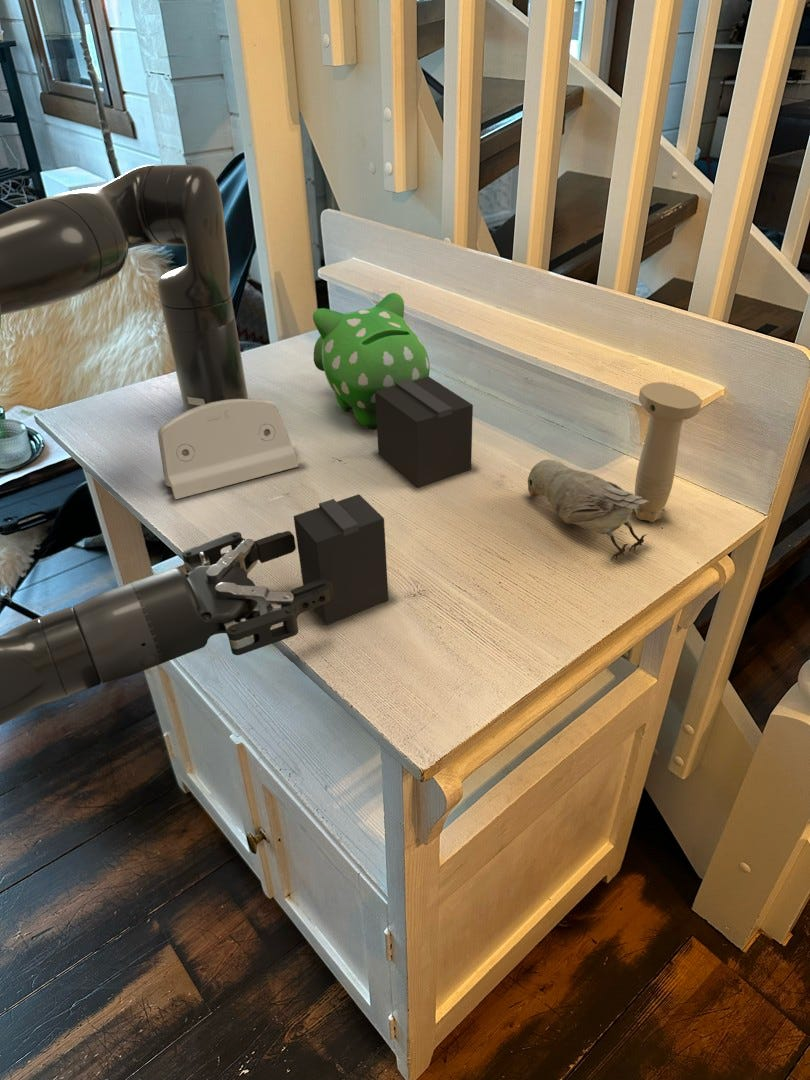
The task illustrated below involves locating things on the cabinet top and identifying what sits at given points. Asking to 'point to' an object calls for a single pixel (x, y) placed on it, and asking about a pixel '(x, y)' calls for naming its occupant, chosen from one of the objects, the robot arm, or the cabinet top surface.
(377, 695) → the cabinet top surface
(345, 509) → the black box
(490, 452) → the cabinet top surface
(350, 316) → the piggy bank
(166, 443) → the white wall mount bracket
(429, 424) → the black taped box
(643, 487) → the handle
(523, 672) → the cabinet top surface
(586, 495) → the decorative bird
